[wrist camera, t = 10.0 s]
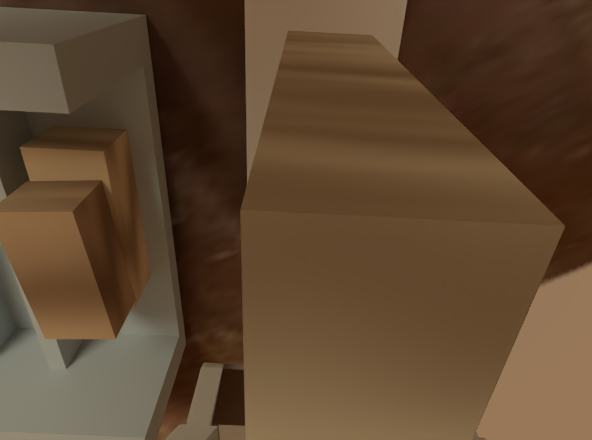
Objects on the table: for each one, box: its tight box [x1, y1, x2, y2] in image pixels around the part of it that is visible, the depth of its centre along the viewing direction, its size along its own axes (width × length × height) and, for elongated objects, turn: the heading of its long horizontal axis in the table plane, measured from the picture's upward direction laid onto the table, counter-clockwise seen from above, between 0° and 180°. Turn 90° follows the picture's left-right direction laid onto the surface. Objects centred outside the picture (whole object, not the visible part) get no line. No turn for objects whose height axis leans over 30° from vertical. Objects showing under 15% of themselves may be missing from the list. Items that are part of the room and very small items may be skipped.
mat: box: [245, 0, 407, 183], centre depth 22 cm, size 16×7×1 cm, turn 177°
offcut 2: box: [0, 180, 136, 339], centre depth 20 cm, size 7×3×3 cm, turn 1°
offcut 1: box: [20, 126, 151, 308], centre depth 22 cm, size 9×4×3 cm, turn 177°
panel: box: [240, 31, 565, 440], centre depth 13 cm, size 14×3×13 cm, turn 177°
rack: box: [0, 7, 186, 440], centre depth 21 cm, size 21×12×8 cm, turn 177°
